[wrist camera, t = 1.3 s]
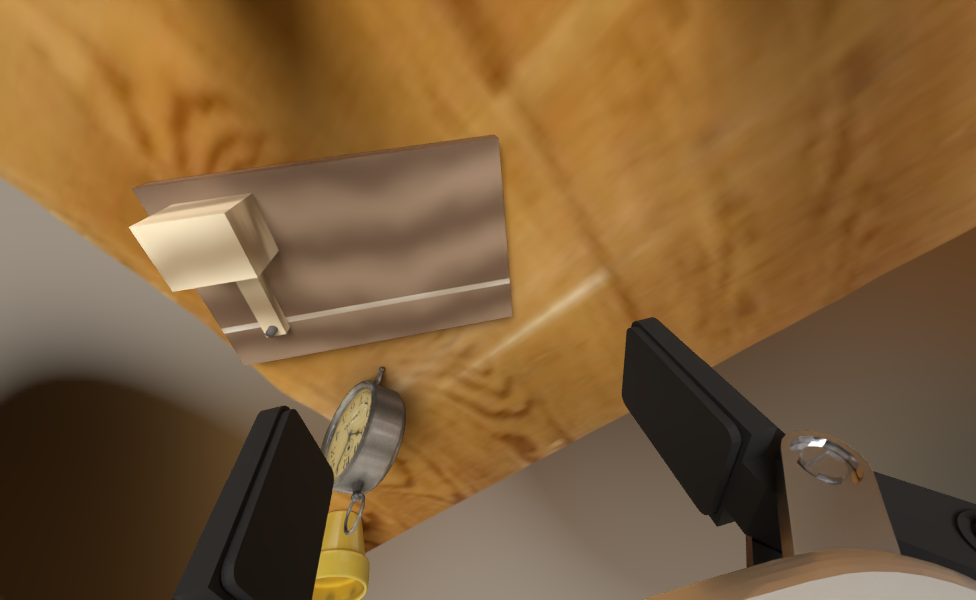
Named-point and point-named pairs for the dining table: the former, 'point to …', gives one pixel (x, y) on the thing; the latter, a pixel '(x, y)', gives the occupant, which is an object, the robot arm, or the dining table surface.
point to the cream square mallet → (216, 251)
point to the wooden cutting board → (365, 245)
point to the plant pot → (342, 560)
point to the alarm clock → (364, 440)
